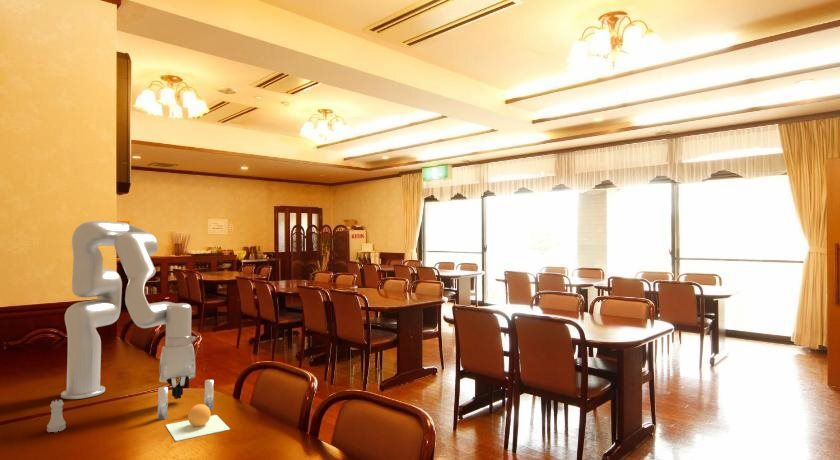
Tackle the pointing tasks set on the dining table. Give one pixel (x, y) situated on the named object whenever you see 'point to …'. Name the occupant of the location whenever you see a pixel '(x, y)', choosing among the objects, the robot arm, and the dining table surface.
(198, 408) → the ball
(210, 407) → the post
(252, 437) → the dining table surface
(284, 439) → the dining table surface
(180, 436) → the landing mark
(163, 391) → the post
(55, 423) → the rook chess piece
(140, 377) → the dining table surface
